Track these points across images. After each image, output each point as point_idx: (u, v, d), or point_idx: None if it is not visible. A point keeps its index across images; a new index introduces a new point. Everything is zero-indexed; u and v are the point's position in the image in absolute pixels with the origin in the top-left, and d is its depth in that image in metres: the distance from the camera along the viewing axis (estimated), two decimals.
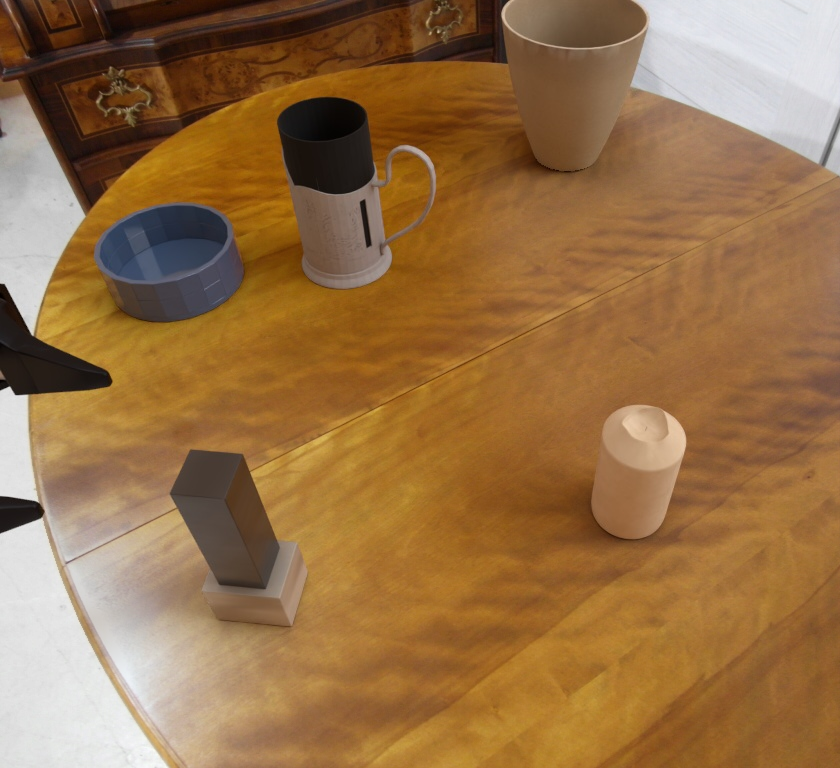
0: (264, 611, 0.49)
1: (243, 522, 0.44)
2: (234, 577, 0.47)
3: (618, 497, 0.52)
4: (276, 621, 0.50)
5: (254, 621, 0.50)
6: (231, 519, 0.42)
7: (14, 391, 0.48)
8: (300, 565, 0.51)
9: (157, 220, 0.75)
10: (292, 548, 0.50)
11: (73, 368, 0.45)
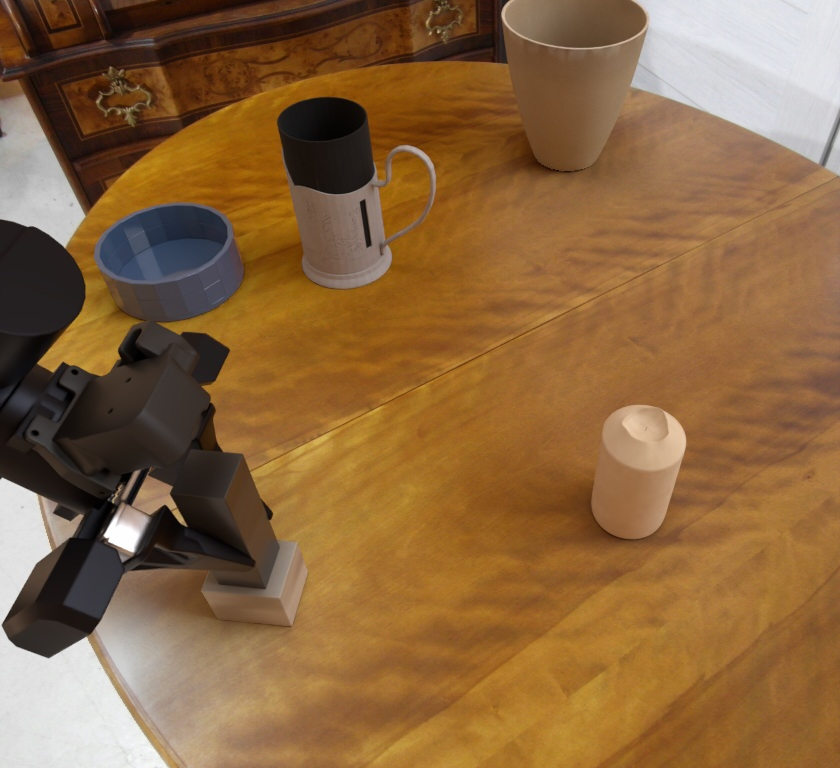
0: (264, 611, 0.49)
1: (243, 522, 0.44)
2: (234, 577, 0.47)
3: (618, 497, 0.52)
4: (276, 621, 0.50)
5: (254, 621, 0.50)
6: (231, 519, 0.42)
7: (152, 474, 0.46)
8: (300, 565, 0.51)
9: (157, 220, 0.75)
10: (292, 548, 0.50)
11: None
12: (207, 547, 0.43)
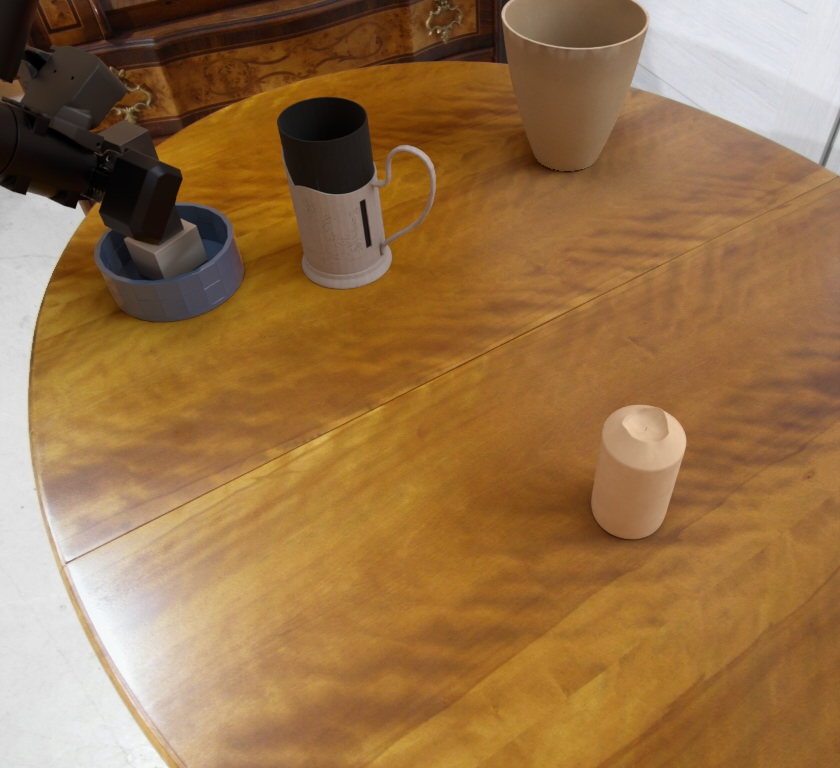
0: (191, 251, 0.72)
1: None
2: (166, 227, 0.69)
3: (618, 497, 0.52)
4: (199, 260, 0.74)
5: (188, 270, 0.73)
6: (155, 152, 0.65)
7: None
8: None
9: None
10: None
11: None
12: None
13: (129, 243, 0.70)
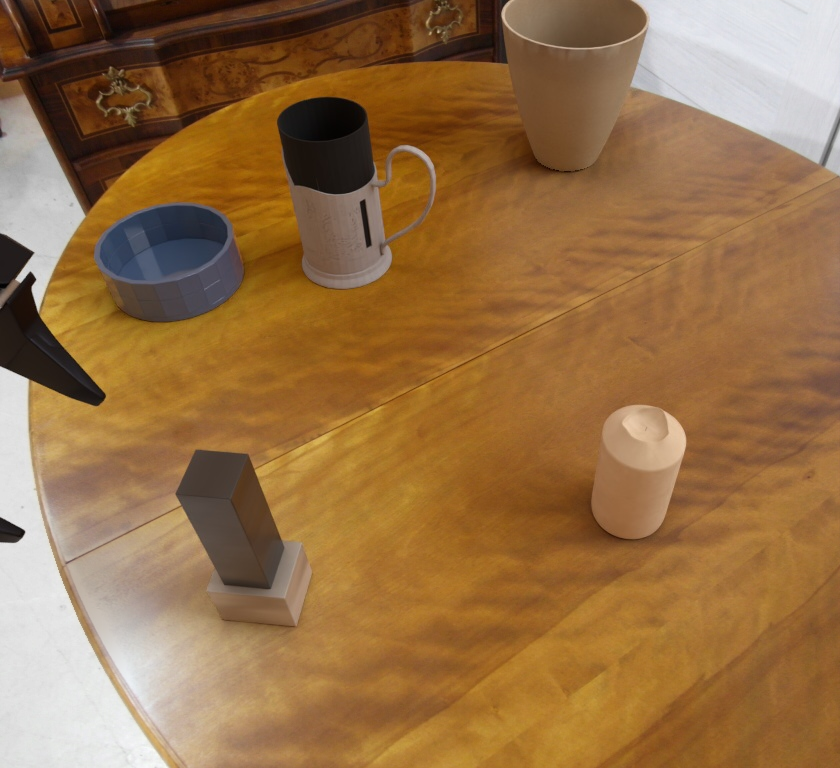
0: (269, 611, 0.49)
1: (249, 522, 0.44)
2: (239, 577, 0.47)
3: (618, 497, 0.52)
4: (280, 621, 0.50)
5: (259, 621, 0.50)
6: (237, 519, 0.42)
7: None
8: (305, 565, 0.51)
9: (157, 220, 0.75)
10: (297, 548, 0.50)
11: (76, 380, 0.44)
12: None
13: None
